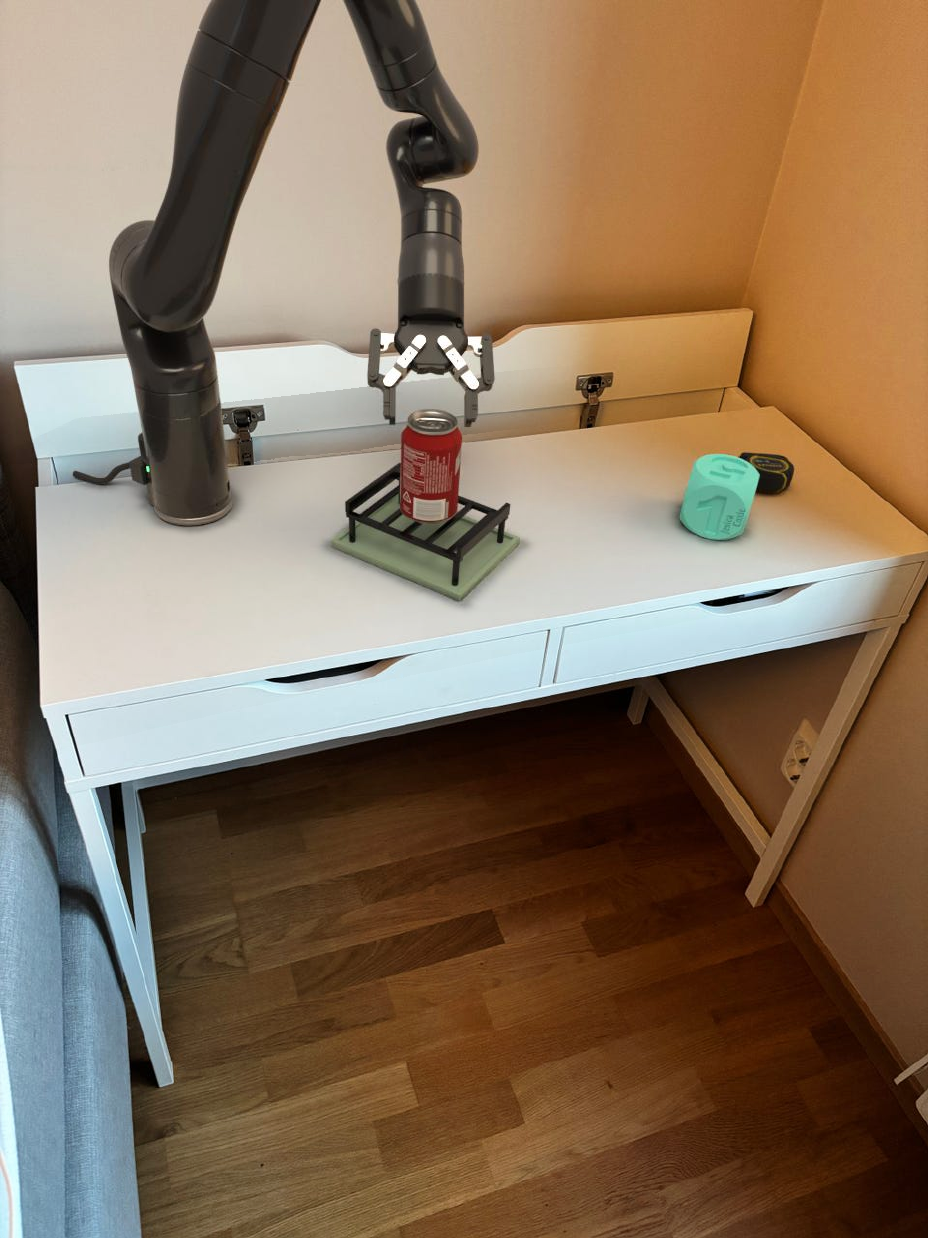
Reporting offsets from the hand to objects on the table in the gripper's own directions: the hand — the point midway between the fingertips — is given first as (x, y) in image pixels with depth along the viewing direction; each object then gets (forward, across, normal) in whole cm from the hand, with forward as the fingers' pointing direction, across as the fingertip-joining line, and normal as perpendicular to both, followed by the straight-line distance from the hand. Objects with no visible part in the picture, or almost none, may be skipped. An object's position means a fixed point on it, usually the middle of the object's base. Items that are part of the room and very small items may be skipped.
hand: (430, 424), depth 106 cm
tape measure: (+1, +47, +20) cm, 51 cm away
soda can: (+9, 0, +6) cm, 11 cm away
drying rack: (+12, 0, +9) cm, 15 cm away
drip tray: (+12, 0, +9) cm, 15 cm away
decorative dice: (+8, +37, +13) cm, 40 cm away
